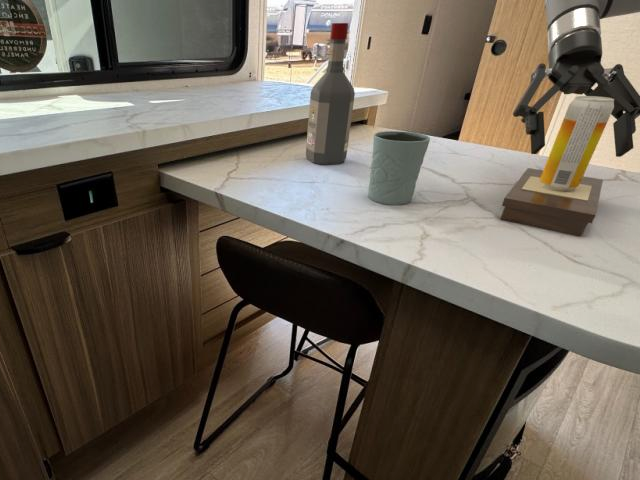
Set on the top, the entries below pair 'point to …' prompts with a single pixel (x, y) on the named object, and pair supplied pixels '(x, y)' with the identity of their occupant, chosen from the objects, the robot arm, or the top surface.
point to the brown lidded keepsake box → (552, 204)
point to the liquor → (331, 106)
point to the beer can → (576, 142)
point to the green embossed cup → (396, 166)
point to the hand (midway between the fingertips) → (580, 151)
